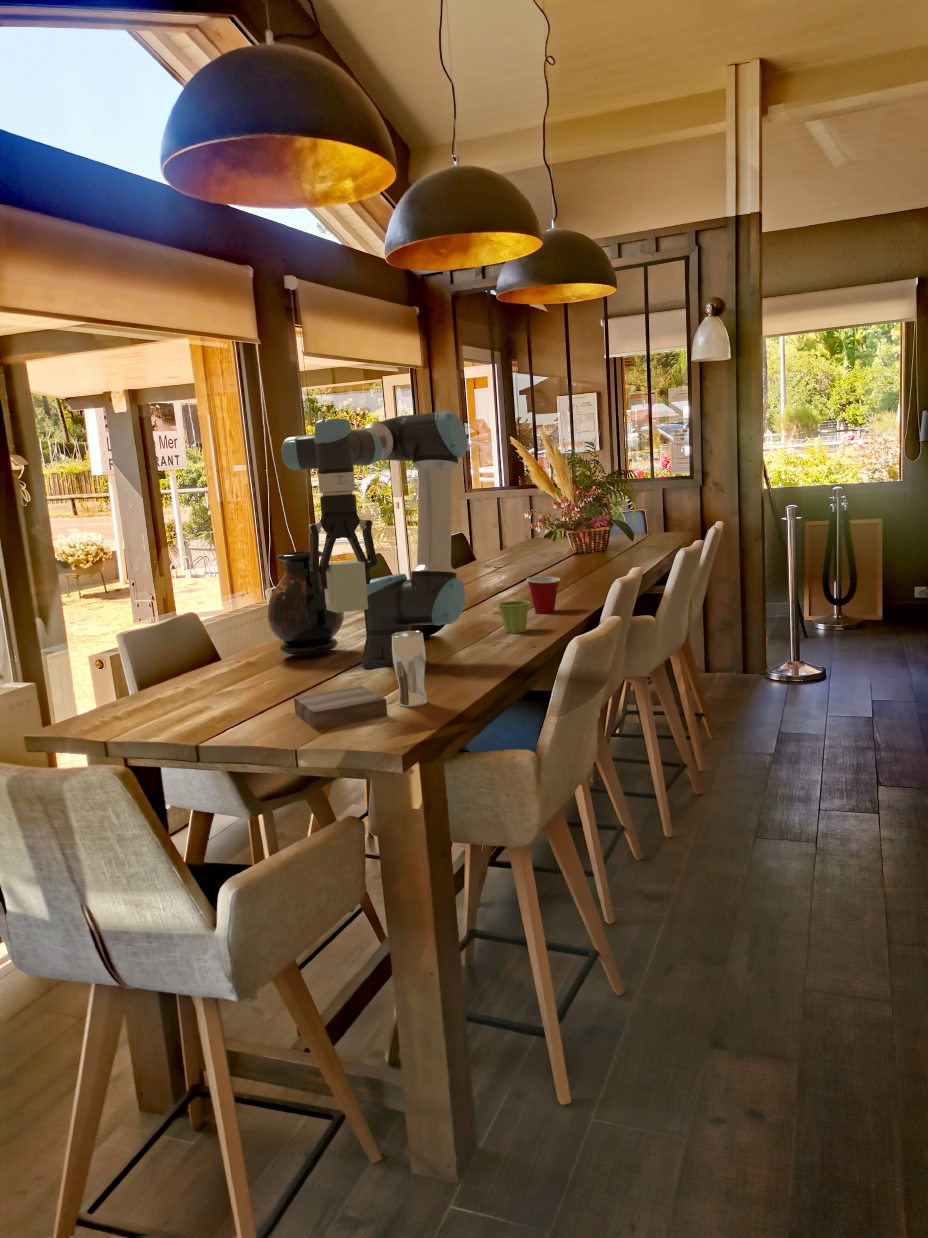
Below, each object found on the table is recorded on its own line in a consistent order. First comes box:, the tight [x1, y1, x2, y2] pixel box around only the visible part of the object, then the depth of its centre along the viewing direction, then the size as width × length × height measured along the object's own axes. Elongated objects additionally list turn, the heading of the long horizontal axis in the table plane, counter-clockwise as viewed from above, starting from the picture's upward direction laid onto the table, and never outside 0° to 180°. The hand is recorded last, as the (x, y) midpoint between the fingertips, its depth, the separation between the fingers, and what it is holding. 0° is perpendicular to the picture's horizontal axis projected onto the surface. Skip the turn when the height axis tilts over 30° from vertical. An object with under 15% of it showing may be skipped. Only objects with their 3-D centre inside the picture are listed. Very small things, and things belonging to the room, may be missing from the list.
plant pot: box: [497, 600, 531, 634], centre depth 271 cm, size 9×9×9 cm
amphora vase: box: [267, 550, 345, 656], centre depth 265 cm, size 22×22×28 cm
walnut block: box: [293, 685, 388, 731], centre depth 191 cm, size 15×15×4 cm
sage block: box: [326, 560, 368, 613], centre depth 199 cm, size 7×7×10 cm
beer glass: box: [392, 630, 428, 708], centre depth 196 cm, size 7×7×15 cm
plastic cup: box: [526, 575, 561, 615], centre depth 298 cm, size 11×11×12 cm
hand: (346, 601), depth 199 cm, fingers closed on sage block, 7 cm apart
